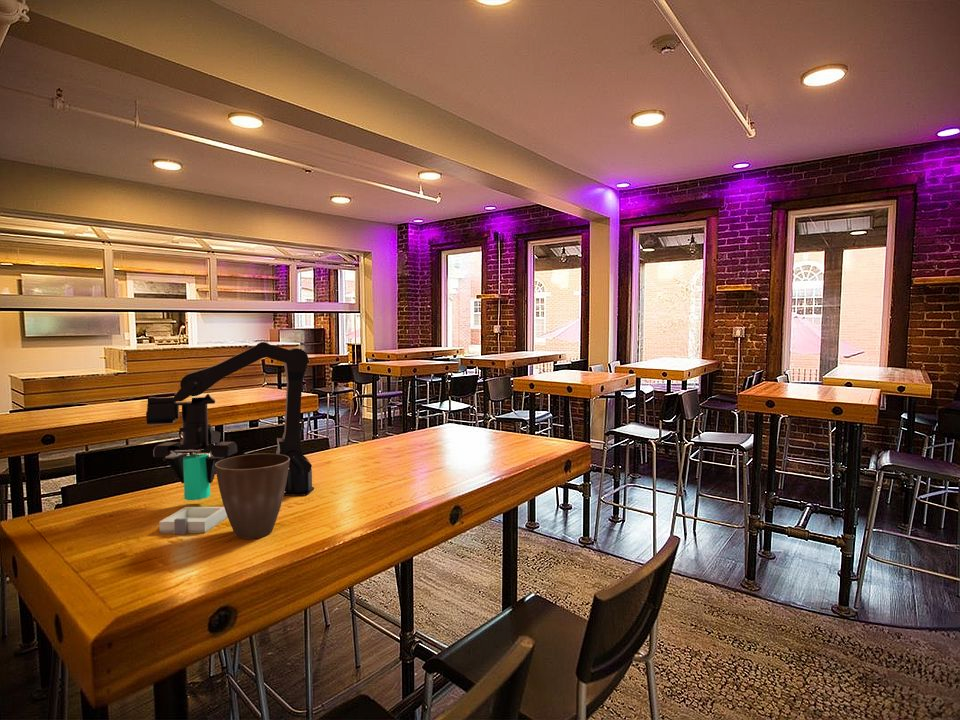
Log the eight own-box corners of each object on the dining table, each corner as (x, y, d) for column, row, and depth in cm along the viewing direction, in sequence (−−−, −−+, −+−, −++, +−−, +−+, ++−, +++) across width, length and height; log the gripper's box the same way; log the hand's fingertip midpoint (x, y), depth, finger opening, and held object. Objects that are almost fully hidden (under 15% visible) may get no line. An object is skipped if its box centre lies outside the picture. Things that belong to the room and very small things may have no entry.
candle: (206, 499, 132) (205, 452, 132) (180, 501, 131) (179, 453, 130) (213, 492, 138) (212, 447, 137) (188, 494, 137) (187, 448, 136)
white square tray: (227, 517, 125) (227, 504, 125) (203, 534, 115) (202, 519, 114) (185, 517, 126) (185, 504, 125) (157, 534, 115) (156, 519, 115)
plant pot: (269, 516, 126) (267, 450, 125) (304, 531, 116) (303, 459, 116) (204, 535, 114) (202, 461, 114) (237, 552, 105) (235, 473, 104)
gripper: (246, 416, 141) (247, 474, 142) (177, 417, 142) (179, 474, 142) (225, 423, 130) (227, 486, 131) (150, 424, 131) (153, 486, 131)
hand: (197, 482), depth 134 cm, fingers closed on candle, 7 cm apart
